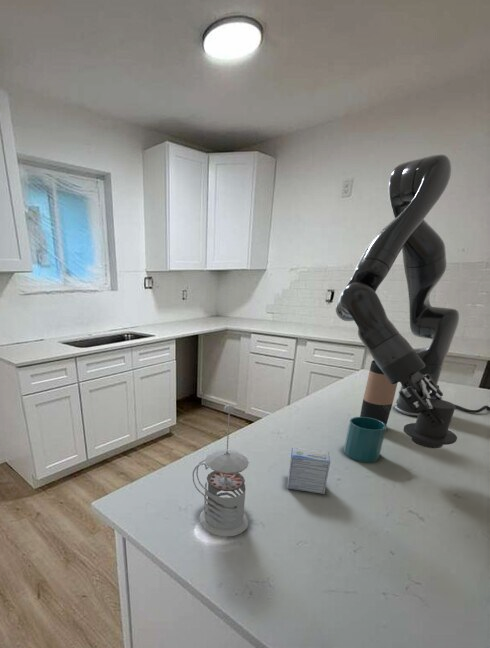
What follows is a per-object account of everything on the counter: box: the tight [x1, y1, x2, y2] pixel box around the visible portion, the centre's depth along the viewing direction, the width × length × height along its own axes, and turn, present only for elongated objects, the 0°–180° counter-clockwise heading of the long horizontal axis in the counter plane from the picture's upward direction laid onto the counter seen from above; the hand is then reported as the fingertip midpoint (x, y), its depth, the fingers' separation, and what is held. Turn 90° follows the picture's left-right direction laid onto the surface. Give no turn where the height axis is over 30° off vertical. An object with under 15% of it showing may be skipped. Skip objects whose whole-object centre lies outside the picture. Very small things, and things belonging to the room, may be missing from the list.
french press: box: [192, 403, 250, 538], centre depth 68 cm, size 10×12×25 cm
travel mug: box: [359, 359, 398, 426], centre depth 106 cm, size 8×8×20 cm
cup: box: [343, 416, 388, 463], centre depth 93 cm, size 8×8×9 cm
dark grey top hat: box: [402, 399, 458, 449], centre depth 81 cm, size 10×10×10 cm
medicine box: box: [286, 447, 331, 495], centre depth 81 cm, size 8×4×9 cm, turn 71°
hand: (442, 421), depth 79 cm, fingers closed on dark grey top hat, 6 cm apart
